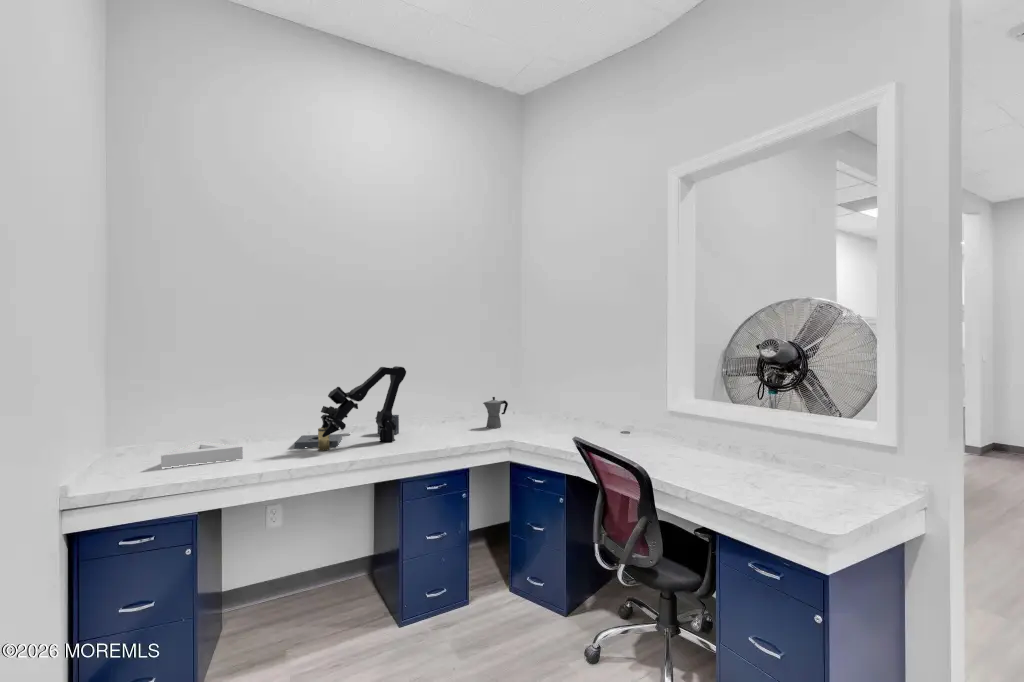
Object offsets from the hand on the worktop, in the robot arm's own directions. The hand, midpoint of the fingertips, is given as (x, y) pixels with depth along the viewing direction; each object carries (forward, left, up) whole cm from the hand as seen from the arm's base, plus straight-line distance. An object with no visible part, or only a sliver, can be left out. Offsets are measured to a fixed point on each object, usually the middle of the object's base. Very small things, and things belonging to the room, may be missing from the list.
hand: (320, 435), depth 251 cm
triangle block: (+39, +22, -8) cm, 46 cm away
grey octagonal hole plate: (+7, -15, -7) cm, 18 cm away
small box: (-19, -44, -7) cm, 48 cm away
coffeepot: (-76, -70, -7) cm, 103 cm away
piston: (-1, -1, -7) cm, 7 cm away
